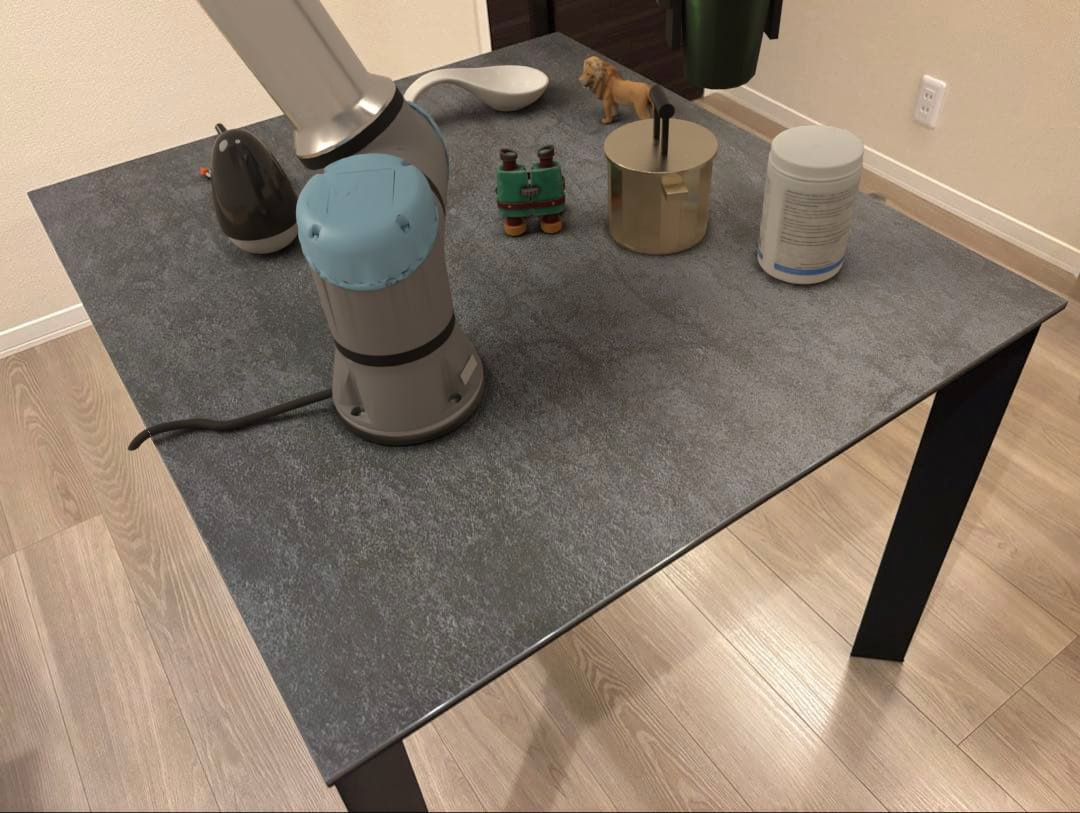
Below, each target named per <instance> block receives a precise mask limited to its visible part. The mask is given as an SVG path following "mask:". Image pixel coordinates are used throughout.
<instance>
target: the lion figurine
mask: <svg viewBox="0 0 1080 813" xmlns="http://www.w3.org/2000/svg"><path fill="white" fill-rule="evenodd" d="M582 70H583V71H582V74H581V75H580V76H579V77H578V81H579V83H581V85H582V86H581V87H582V88H583V89H588V90H589V92H591V93H592V94H594V95H595V98H596V99H598V100H600V101H602V104H603V109H604V113H605V117H603V118H602V119H601V122H602V124H609V123H611V122H612V120H613V117H615V116H617V115H618V114H619V106H620V105H621V106H623V107H633V106H634V111H635V112H636V115H637V116H638V118H639V119H640V120H645V119H654V115H653V113H654V104H653V102H652V100H651V98H650V96H649V91H650V89H651V88H652V86H650V85H649V84H648V83H647V82H639V81H633V80H629V79H627V78H625V77H624V76H623V75H622V74H621V72H620V70H619V69H618V68H617V67H616V66H615V65H613V64H612V63H611V61H609V60H607V59H604V58H602V57H599V56H596V55H595V56H594V55H592V56H589V57H587V58H586V59H584V60H583V68H582ZM652 112H653V113H652Z"/></svg>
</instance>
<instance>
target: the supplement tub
mask: <svg viewBox="0 0 1080 813" xmlns="http://www.w3.org/2000/svg"><path fill="white" fill-rule="evenodd" d="M864 154H865V145H864V142H863V141H862V140H861V138H859V137H858V136H857V135H856V134H855V133H853V132H850V131H849V130H847V129H843V128H840V127H837V126H831V125H822V124H809V125H808V124H807V125H799V126H794V127H791V128H788V129H785V130H783V131H781V132H780V133H778V134H777V135H776V136H775V137H774V138H773V140H772V141H771V146H770V152H769V153H768V159H767V160H768V161H767V167H766V175H765V176H766V177H765V185H764V193H763V202H762V212H761V220H760V227H759V228H760V229H759V237H758V246H757V261H758V264H759V266H760V267H761V269H762V270H763V271H764V272H765V273H767V274H768V275H769V276H771V277H772V278H774V279H777V280H779V281H783V282H786V283H789V284H795V285H810V284H818V283H822V282H824V281H827V280H829V279H831V278H833V277H834V276H836V274H838V273H839V271H840V270H841V269H842V267H843V264H844V261H845V256H846V251H847V247H848V246H847V245H848V241H849V236H850V231H851V227H852V222H853V216H854V211H855V207H856V202H857V198H858V193H859V187H860V183H861V179H862V174H863V169H864V168H863V166H864Z"/></svg>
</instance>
